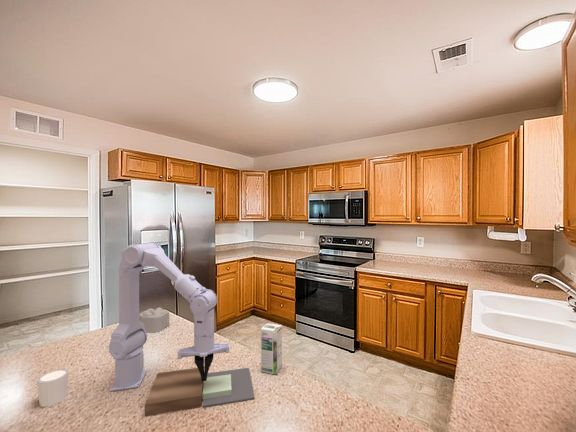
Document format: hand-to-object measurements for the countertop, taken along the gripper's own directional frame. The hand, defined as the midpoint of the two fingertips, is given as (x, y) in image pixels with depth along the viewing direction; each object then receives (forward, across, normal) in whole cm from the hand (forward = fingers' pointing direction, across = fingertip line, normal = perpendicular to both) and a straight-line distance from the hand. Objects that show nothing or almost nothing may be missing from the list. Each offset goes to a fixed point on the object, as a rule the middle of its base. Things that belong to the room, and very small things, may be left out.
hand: (204, 379), depth 80 cm
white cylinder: (+4, -42, +7) cm, 42 cm away
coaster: (+3, +4, 0) cm, 5 cm away
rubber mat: (+4, +7, +1) cm, 8 cm away
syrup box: (+4, +22, +7) cm, 23 cm away
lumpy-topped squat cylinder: (+4, -26, +56) cm, 62 cm away
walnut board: (+4, -7, +1) cm, 8 cm away
